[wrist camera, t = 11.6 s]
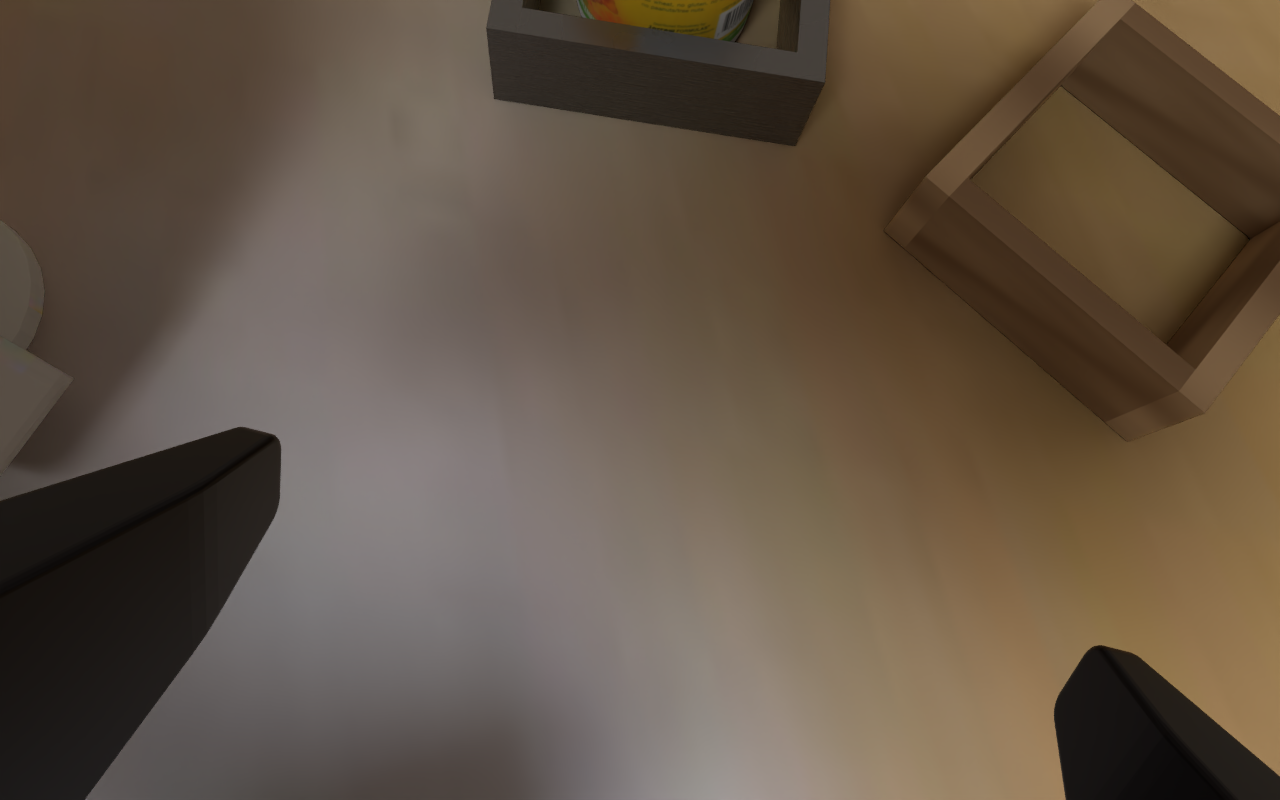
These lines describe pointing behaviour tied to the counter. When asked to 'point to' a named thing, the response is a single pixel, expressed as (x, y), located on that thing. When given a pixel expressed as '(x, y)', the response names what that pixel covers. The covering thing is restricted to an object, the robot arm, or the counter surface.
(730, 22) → the supplement bottle
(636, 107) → the dock collar
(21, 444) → the network device
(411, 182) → the counter surface
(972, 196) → the holder sleeve
